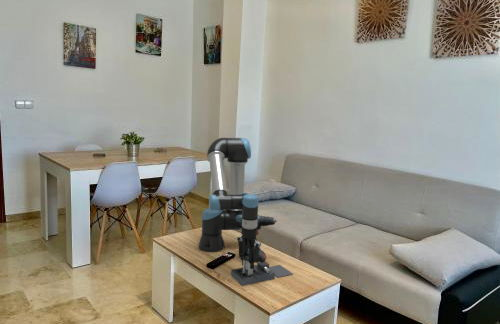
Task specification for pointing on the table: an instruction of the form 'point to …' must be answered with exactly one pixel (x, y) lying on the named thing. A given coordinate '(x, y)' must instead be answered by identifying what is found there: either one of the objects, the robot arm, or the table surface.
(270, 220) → the power drill
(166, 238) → the table surface
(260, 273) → the plate
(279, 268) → the rubber mat
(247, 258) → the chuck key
